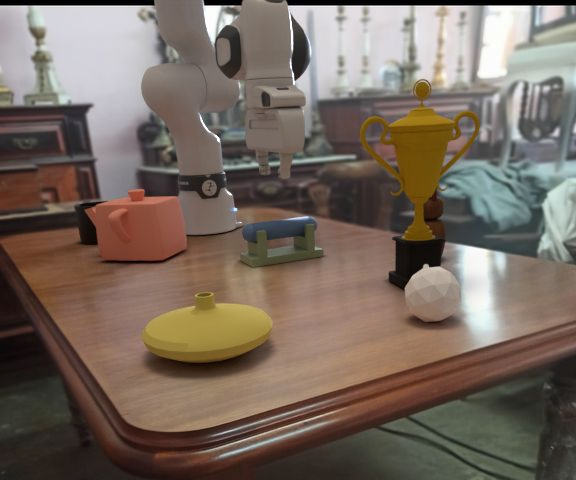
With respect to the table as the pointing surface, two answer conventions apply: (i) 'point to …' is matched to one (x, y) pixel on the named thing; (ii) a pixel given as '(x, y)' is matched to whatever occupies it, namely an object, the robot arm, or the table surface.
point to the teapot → (139, 227)
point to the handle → (278, 228)
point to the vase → (207, 331)
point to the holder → (281, 249)
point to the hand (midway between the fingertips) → (274, 176)
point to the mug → (86, 223)
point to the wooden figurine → (435, 217)
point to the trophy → (418, 176)
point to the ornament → (432, 294)
